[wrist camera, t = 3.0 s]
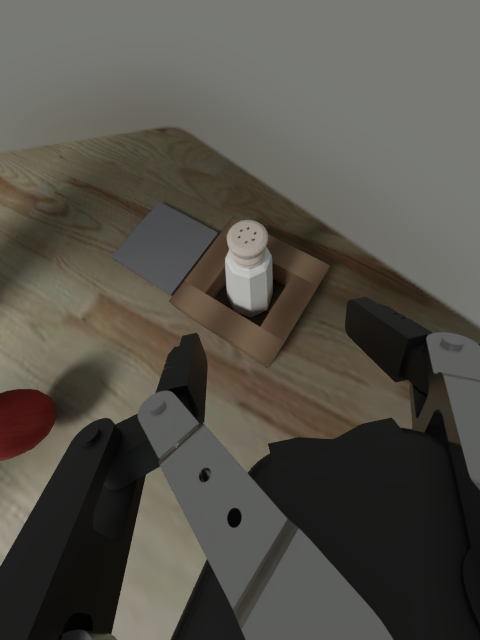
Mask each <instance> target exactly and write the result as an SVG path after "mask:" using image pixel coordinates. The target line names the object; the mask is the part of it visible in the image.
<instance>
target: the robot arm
mask: <svg viewBox="0 0 480 640" xmlns="http://www.w3.org/2000/svg"><path fill="white" fill-rule="evenodd" d="M345 329H346V332H347V334H348V336H349V337H350V338H351V339H352V340H353V341H354V342H355V343H356V344H357V345H358V346H359V347H360V348H361V349H362V350H363V351H364V352H365V353H366V354H367V355H368V356H369V357H370V358H371V359H372V360H373V361H374V362H375V363H376V364H377V365H378V366H379V367H380V368H381V369H382V370H383V371H384V372H385V373H386V374H387V375H388V376H389V377H390V378H391V379H392V380H393V381H395V382H400V381H405V380H409V381H410V382H411V384H410V387H409V392H410V403H411V414H412V429H405V428H400V427H399V426H398V425H397V423H396V422H395V421H394V420H393V419H392V418H388V419H383V420H379V421H374V422H369V423H364V424H361V425H359V426H357V427H355V428H354V429H352V430H350V431H348V432H346V433H345V434H343V435H341V436H339V437H338V438H335V439H318V438H300V437H298V438H293V439H289V440H284V441H279V442H274V443H270V444H268V445H269V450H270V454H268V455H267V456H265V457H263V458H262V459H261V460H259V461H258V462H257V463H256V464H255V465H254V466H253V467H252V468H251V469H250V471H249V472H248V473H247V472H246V471H245V470H244V469H243V468H242V466H241V465H240V464H239V463H238V462H237V461H236V460H235V459H234V457H233V456H232V455H231V454H230V453H229V452H228V451H227V449H226V448H225V447H224V446H223V445H222V444H221V443H220V441H219V440H218V439H217V438H216V437H215V436H214V435H213V433H212V432H211V431H210V430H209V429H208V428H207V427H206V426H205V425H204V424H203V422H204V417H205V400H206V383H207V358H206V355H205V352H204V349H203V346H202V344H201V341H200V338H199V335H198V334H197V333H194V334H189V335H184V336H182V339H181V342H180V346H178V347H174V348H173V349H172V351H171V352H170V353H169V354H168V357H167V360H166V364H165V366H164V370H163V372H162V375H161V378H160V381H159V384H158V387H157V390H156V393H155V394H153V395H152V396H150V397H149V398H148V399H147V400H145V401H144V403H143V404H142V405H141V407H140V409H139V411H138V414H136V415H134V416H132V417H130V418H128V419H126V420H124V421H122V422H120V423H118V424H116V425H115V424H114V422H113V421H112V420H111V419H108V418H103V419H99V420H96V421H94V422H92V423H90V424H89V425H87V426H86V427H85V428H83V429H82V430H81V431H80V432H79V433H78V434H77V435H76V436H75V438H74V439H73V440H72V442H71V443H70V445H69V447H68V449H67V450H66V452H65V454H64V456H63V457H62V459H61V461H60V463H59V464H58V466H57V468H56V470H55V471H54V473H53V475H52V477H51V479H50V480H49V482H48V484H47V486H46V487H45V489H44V491H43V493H42V494H41V496H40V498H39V500H38V501H37V503H36V505H35V507H34V508H33V510H32V512H31V514H30V515H29V517H28V519H27V521H26V522H25V524H24V526H23V528H22V529H21V531H20V533H19V535H18V537H17V538H16V540H15V542H14V544H13V545H12V547H11V549H10V551H9V552H8V554H7V556H6V558H5V559H4V561H3V563H2V565H1V566H0V640H117V639H116V638H115V637H114V636H113V635H111V633H112V628H113V624H114V619H115V615H116V610H117V605H118V601H119V596H120V591H121V587H122V582H123V578H124V573H125V568H126V564H127V559H128V555H129V550H130V545H131V541H132V536H133V532H134V527H135V522H136V518H137V513H138V509H139V504H140V499H141V495H142V490H143V485H144V481H145V476H146V474H148V473H149V472H151V471H153V470H154V469H156V468H158V467H161V469H162V471H163V473H164V475H165V477H166V479H167V481H168V483H169V485H170V487H171V489H172V491H173V493H174V495H175V497H176V499H177V501H178V503H179V505H180V507H181V508H182V510H183V512H184V514H185V516H186V518H187V520H188V522H189V524H190V526H191V528H192V530H193V532H194V534H195V536H196V538H197V540H198V542H199V544H200V546H201V548H202V550H203V551H204V553H205V555H206V557H207V560H206V562H205V564H204V567H203V569H202V571H201V573H200V576H199V578H198V580H197V582H196V584H195V587H194V589H193V591H192V593H191V596H190V598H189V600H188V602H187V604H186V607H185V609H184V611H183V613H182V616H181V618H180V620H179V622H178V624H177V627H176V629H175V631H174V633H173V636H172V638H171V640H480V344H477V343H476V342H475V341H473V340H471V339H469V338H467V337H464V336H462V335H458V334H454V333H447V332H437V333H432V332H430V331H429V330H427V329H425V328H424V327H422V326H420V325H418V324H417V323H415V322H413V321H412V320H410V319H408V318H406V317H405V316H403V315H401V314H398V312H396V311H395V310H393V309H391V308H389V307H386V306H383V305H380V304H377V303H375V302H373V301H372V300H370V299H368V298H367V297H362V298H357V299H353V300H349V301H348V303H347V310H346V321H345Z"/></svg>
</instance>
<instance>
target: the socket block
mask: <svg viewBox="0 0 480 640" xmlns="http://www.w3.org/2000/svg"><path fill="white" fill-rule="evenodd" d="M240 221H241V220H239V219H237V218H235V217H233V218H232V219H231V220H230V221H229V223H228V224H227V225H226V227H225V228H224V229H223V231H222V232H221V233H220V235H219V236H218V237H217V239H216V240H215V241H214V243H213V244H212V245H211V246H210V248H209V249H208V250H207V252H206V253H205V254H204V256H203V257H202V258H201V260H200V261H199V262H198V264H197V265H196V266H195V268H194V269H193V270H192V271H191V273H190V274H189V275H188V277H187V278H186V279H185V281H184V282H183V283H182V285H181V286H180V287H179V289H178V290H177V291H176V293H175V294H174V295H173V296H172V298H171V299H170V300H169V302H170V303H171V304H172V305H174V306H175V307H176V308H177V309H178V310H180V311H181V312H182V313H184V314H185V315H187V316H188V317H190V318H192V319H193V320H195V321H196V322H198V323H199V324H201V325H202V326H204V327H205V328H207V329H208V330H210V331H212V332H213V333H215V334H216V335H218V336H219V337H221V338H222V339H224V340H225V341H227V342H228V343H230V344H232V345H233V346H235V347H236V348H238V349H239V350H241V351H242V352H244V353H245V354H247V355H248V356H250V357H251V358H253V359H255V360H256V361H258V362H259V363H261V364H262V365H264V366H265V367H270V365H271V364H272V362H273V360H274V359H275V357H276V355H277V354H278V352H279V350H280V349H281V347H282V345H283V344H284V342H285V340H286V339H287V337H288V335H289V334H290V332H291V330H292V329H293V327H294V325H295V324H296V322H297V321H298V319H299V317H300V316H301V314H302V312H303V311H304V309H305V307H306V306H307V304H308V302H309V301H310V299H311V297H312V296H313V294H314V292H315V291H316V289H317V287H318V286H319V284H320V282H321V281H322V279H323V277H324V276H325V274H326V272H327V271H328V269H329V267H330V265H328V264H326V263H324V262H322V261H320V260H318V259H316V258H314V257H312V256H310V255H308V254H306V253H304V252H302V251H300V250H298V249H296V248H294V247H292V246H291V245H289V244H287V243H285V242H283V241H281V240H279V239H277V238H275V237H273V236H271V235H269V234H268V243H267V245H266V247H267V248H268V250H269V252H270V254H271V255H272V276H273V280H275V281H277V282H279V283H281V284H282V285H284V286H286V287H285V289H284V290H283V292H282V293H281V295H280V296H279V298H278V300H277V301H276V303H275V304H274V306H273V307H272V309H271V311H270V312H269V314H268V315H267V317H266V318H265V320H264V321H263V323H262V325H261V326H260V327H259V326H258V325H256V324H254V323H253V322H251V321H249V320H248V319H246V318H245V317H243V316H241V315H240V314H238V313H236V312H235V311H233V310H231V309H230V308H228V307H227V306H225V305H223V304H222V303H220V302H218V301H217V300H215V299H216V298H217V296H218V295H219V294H220V292H221V291H222V289H223V288H224V287H225V285H226V272H225V258H226V256H227V253H228V251H229V247H228V244H227V234H228V232H229V230H230V229H231V227H232V226H233V225H235V224H236V223H238V222H240Z"/></svg>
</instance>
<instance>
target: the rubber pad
mask: <svg viewBox="0 0 480 640" xmlns="http://www.w3.org/2000/svg"><path fill="white" fill-rule="evenodd" d="M218 236H219V234H218V232H216V231H214V230H212V229H210V228H208V227H206V226H205V225H203V224H201V223H199V222H197V221H195V220H193V219H191V218H190V217H188V216H186V215H184V214H182V213H180V212H178V211H176V210H174V209H173V208H171V207H169V206H167V205H165V204H163V203H161V202H158V203H157V204H156V205H155V206H154V208H153V209H152V210H151V211H150V212H149V213H148V215H147V216H146V217H145V218H144V219H143V220H142V221H141V223H140V224H139V225H138V226H137V227H136V228H135V230H134V231H133V232H132V233H131V234H130V235H129V236H128V238H127V239H126V240H125V241H124V242H123V243H122V245H121V246H120V247H119V248H118V249H117V250H116V251H115V253H114V254H113V255H112V256H111V257H112V258H114V259H115V260H116V261H118V262H120V263H121V264H123V265H124V266H126V267H127V268H129V269H131V270H132V271H134V272H135V273H137V274H138V275H140V276H142V277H143V278H145V279H146V280H148V281H149V282H151V283H152V284H154V285H156V286H157V287H159V288H160V289H162V290H163V291H165V292H167V293H168V294H170V295H171V296H173V295H174V294H175V293H176V291H177V290H178V289H179V287H180V286H181V285H182V283H183V282H184V281H185V279H186V278H187V277H188V275H189V274H190V273H191V271H192V270H193V269H194V268H195V266H196V265H197V264H198V262H199V261H200V260H201V258H202V257H203V256H204V254H205V253H206V252H207V250H208V249H209V248H210V246H211V245H212V244H213V243H214V241H215V240H216V239H217V237H218Z"/></svg>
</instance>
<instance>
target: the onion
mask: <svg viewBox="0 0 480 640" xmlns="http://www.w3.org/2000/svg"><path fill="white" fill-rule="evenodd" d="M55 418H56V411H55V405H54V403H53V401H52V399H51V398H50V397H49V396H47V395H46V394H44V393H42V392H40V391H38V390H31V389H17V390H11V391H6V392H3V393H0V461H2V460H6V459H10V458H13V457H15V456H18V455H20V454H22V453H24V452H26V451H28V450H30V449H32V448H34V447H35V446H36V445H37V444H38V443H39V442H40V441H42V440H43V439H44V438H45V437H46V436H47V435H48V434H49V432H50V430H51V428H52V427H53V425H54V423H55Z"/></svg>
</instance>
